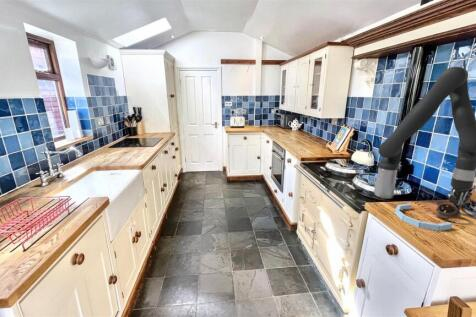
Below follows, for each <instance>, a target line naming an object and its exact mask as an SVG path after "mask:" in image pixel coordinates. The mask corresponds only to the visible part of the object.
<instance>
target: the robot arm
mask: <svg viewBox="0 0 476 317" xmlns="http://www.w3.org/2000/svg"><path fill="white" fill-rule="evenodd" d="M468 77H469V72H468V69H466V68H464V67H461V66H451V67H448V68H447V69H444V70H443V71H442V72H441V73H440V75H439V76H438V78H437V79H436V81H435V82H434V83H433V85H432V86H431V87H430V89H429V90H428V92H427V93H426V94H425V95H424V96H423V97H422V98H421V99H420V100H419V101H418V102H417V103H416V104H414V106H413V107H412V108H411V110H410V111H408V113H407V114H406V115H405V117H404V118H403V119H402V120H401V122H400V123H399V124H398V125H397V127H396V128H395V129H394V130H393V132H392V133H391V134H390V135H389V136H388V137H387V138H386V139H384V141H383V142H381V144H380V145H379V146H378V154H379V155H380V157H381V159H380V161H379V162H378V166H377V167H378V169H377V176H376V177H377V178H375V181H374V182H375V183H374V189H373V190H374V191H373V194H374V195H375V196H376V197H378V198H381V199H385V200H386V199H390V200H391V199H393V198H394V194H395V188H396V181H397V173H398V167H399V165H400V161H401V157H402V151H403V149H402V148H403V147H402V145H403V144H405V142H406V141H407V140H408V139H409V138H411V137H412V136H413V135H415V134H416V133H417V132H419V130H421V129H422V128H423V127H424V126H426V124H428V122H429V121H430V120H431V119H432V118H433V116H434V114H436V112H437V111H438V109H439V107H440V106H441V104H442V103H443V102H444V100H446V99H447V98H448V96H449V100H450V104H451V105H450V106H451V112H452V114H451V115H452V119H453V120H452V121H453V124H454V127H455V130H456V132H457V133H458V134H457V135H458V138H459V142H458V148H457V158H456V159H455V160H456V161H455V163H454V164H455V165H454V170H453V171H452V176H451V179H450V186H451V187H452V189H451V190H450V193H446V195H445V196H446V197H447V199H448V201H449V203H450V204H453V205H455V206H456V207H457V208H458V209H459V211H460V210H461V207H462V205H463V204H466V202H467V201H468V200H469V199H470V198H471V197H472V196H473V193H472V192H470V190H472V189H473V186H474V182H475V178H476V115H475V112H474V108H473V105H472V102H471V99H470V95H469V87H468V85H469V84H468V81H469V78H468ZM460 212H461V211H460Z"/></svg>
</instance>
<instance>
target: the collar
mask: <svg viewBox="0 0 476 317" xmlns="http://www.w3.org/2000/svg"><path fill="white" fill-rule="evenodd" d="M410 208H411V209H412V204H410V203H402V204H398V205H397V206H396V207H395V209H394V215H395V214H396V215H397V216H398V217H399V218H400V219H399V218H398V217H397V216H396V215H395V216H396V217H397V218H398V219H399V220H400V221H402V222H403V221H404V222H403V223H406V222H407V223H406V224H408V225H411V226H414V227H416V228H420V229H424V230H425V229H426V230H430V231H431V230H432V231H446V230H452V228H453V227H452V226H453V223H452V222H448V221H447V222H440V223H436V222H435V223H433V222H427V221H421V220H418V219H416V218H412V217H410V216H408V215H405V213H403V212H402V211H404V210H403V209H409V210H411V209H410ZM400 210H401V211H400Z"/></svg>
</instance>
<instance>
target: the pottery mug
mask: <svg viewBox="0 0 476 317" xmlns="http://www.w3.org/2000/svg"><path fill="white" fill-rule="evenodd" d="M436 204H437V206H436V209H435V211H436V212H435V214H434V215H435V217H436V218H441V219H454V218H455V219H458V220H461V215H462V212H461V211H459V209H458V208H457V207H456V206H455V205H453V203H451V202H443V201H441V200H440V201H437V203H436Z"/></svg>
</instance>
